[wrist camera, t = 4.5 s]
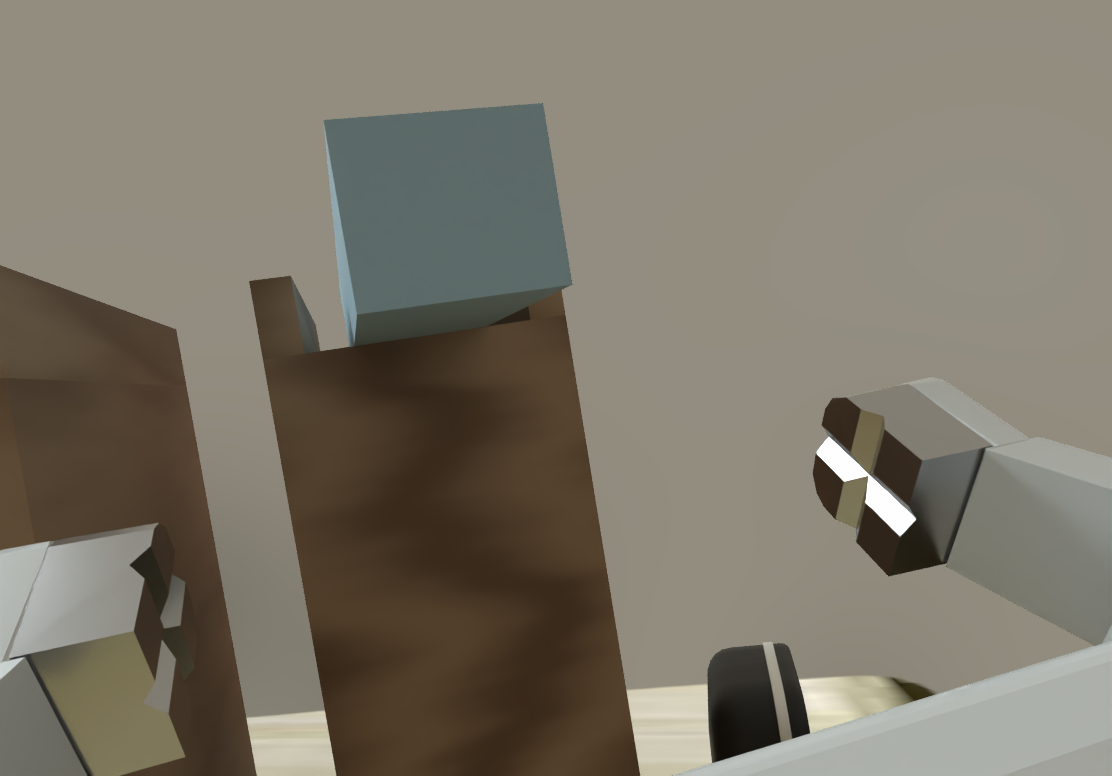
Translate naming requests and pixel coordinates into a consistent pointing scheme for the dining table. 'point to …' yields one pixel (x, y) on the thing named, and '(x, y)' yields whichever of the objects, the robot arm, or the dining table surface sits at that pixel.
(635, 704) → the dining table surface
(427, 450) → the right post
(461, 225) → the batten
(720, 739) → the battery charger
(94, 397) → the left post
